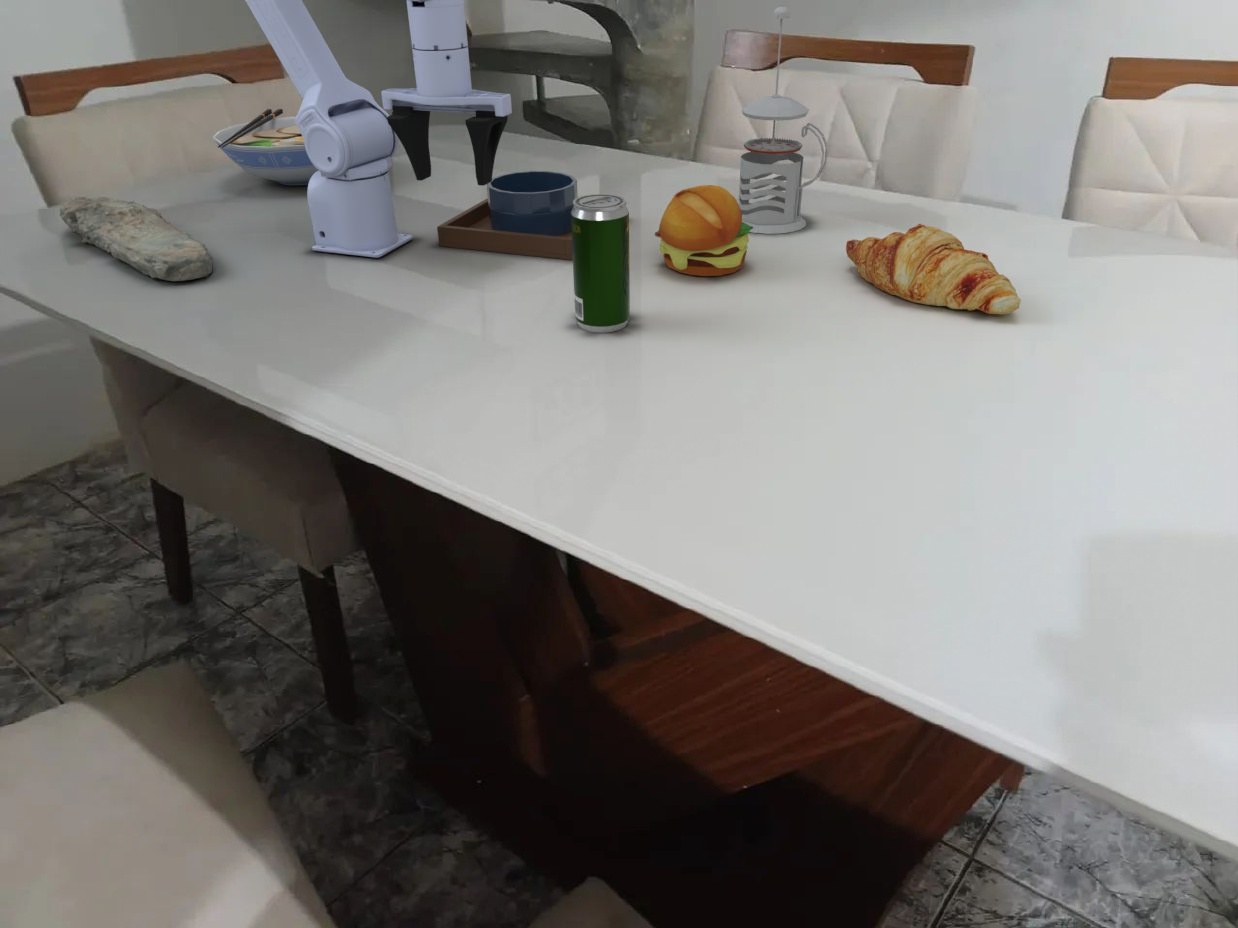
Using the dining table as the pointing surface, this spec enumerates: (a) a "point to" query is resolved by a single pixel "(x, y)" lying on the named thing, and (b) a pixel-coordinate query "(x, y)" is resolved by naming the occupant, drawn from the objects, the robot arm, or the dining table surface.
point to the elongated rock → (138, 237)
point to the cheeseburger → (703, 232)
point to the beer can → (601, 262)
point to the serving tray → (499, 236)
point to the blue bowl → (532, 202)
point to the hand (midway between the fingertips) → (454, 180)
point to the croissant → (933, 271)
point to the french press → (756, 164)
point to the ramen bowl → (269, 148)
